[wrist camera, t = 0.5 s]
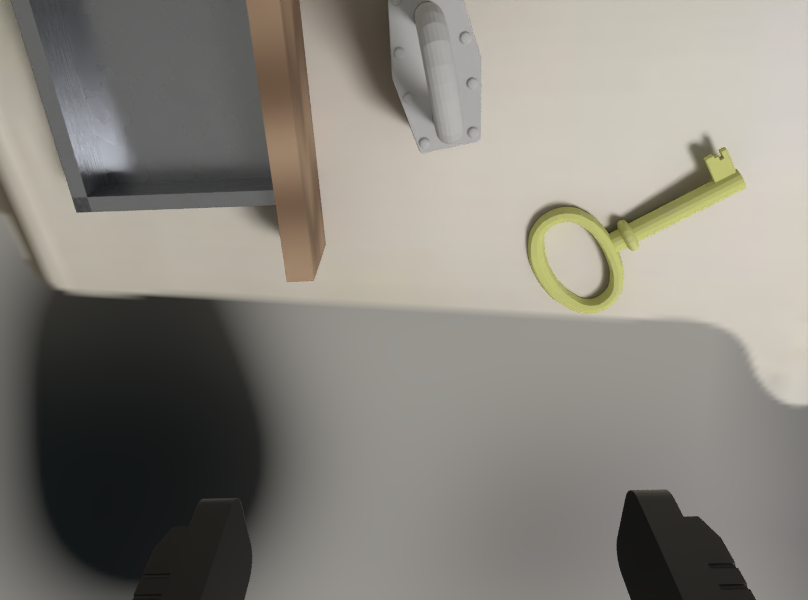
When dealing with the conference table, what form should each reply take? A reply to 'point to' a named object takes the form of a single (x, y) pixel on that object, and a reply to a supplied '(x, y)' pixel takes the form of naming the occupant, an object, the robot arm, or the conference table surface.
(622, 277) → the key
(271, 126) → the door strip
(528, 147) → the conference table surface
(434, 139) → the padlock
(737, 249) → the conference table surface
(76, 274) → the conference table surface
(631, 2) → the conference table surface
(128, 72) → the grey metal tray
